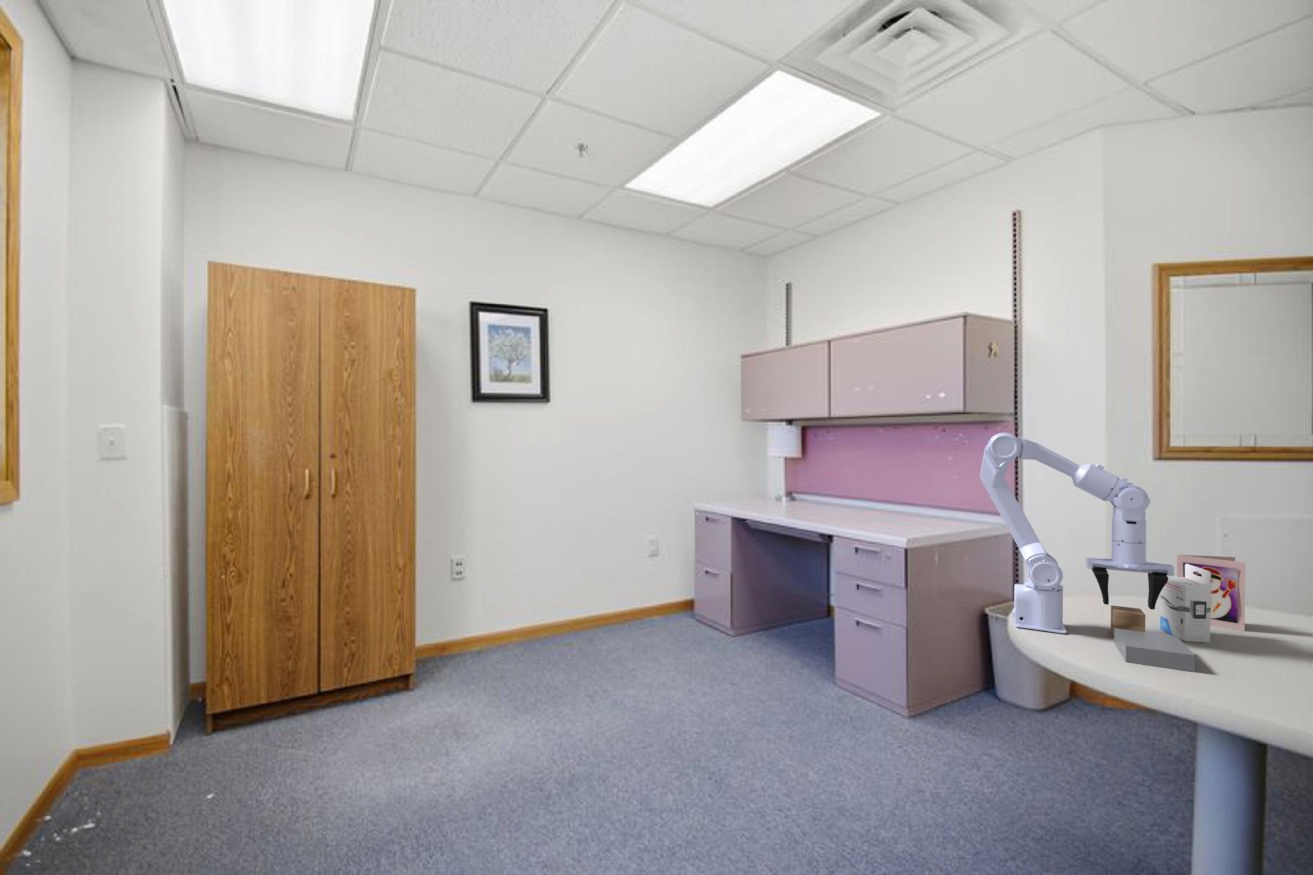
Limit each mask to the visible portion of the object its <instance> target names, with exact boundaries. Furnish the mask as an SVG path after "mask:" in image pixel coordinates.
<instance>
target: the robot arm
mask: <svg viewBox="0 0 1313 875" xmlns="http://www.w3.org/2000/svg"><path fill="white" fill-rule="evenodd" d="M1017 457H1018V458H1019V459H1020V460H1030V461H1031V460H1032V461H1033V460H1034V461H1037V462H1039V463H1040V464H1043V465H1045V466H1047V467H1049V468H1051V469H1054V470H1056V471H1058V472H1060V473H1062V474H1064V475H1066V476H1068V477H1070V478H1071V479H1072V480H1071V481H1072V482H1073V485H1074V487H1076V488H1078V489H1080V490H1082V491H1084V492H1086V493H1088V494H1089V495H1091V496H1094V497H1095V498H1097V499H1100V500H1102V501H1103V502H1110V505H1112V517H1111V558H1093V557H1092V558H1091V557H1086V558H1085V567H1086V569H1091V572H1092V573H1093V574H1094V577H1095V579H1096V581H1097V583H1098V586H1099V589H1100V592H1101V597H1102V602H1103V604H1104V605H1110V603H1109V602H1110V599H1109V598H1110V596H1109V578H1110V577H1109V570H1110V571H1121V572H1131V573H1132V572H1133V573H1143V574H1147V579H1148V597H1147V598H1148V599H1147V607H1148V608H1149V609H1150V610H1153V611H1154V610H1155V609H1156V604H1157V602H1158V599H1159V597H1160V595H1161V590H1162V589H1163V587H1164V586H1165V584H1166V583H1167V582H1168V577H1167V576H1170V577H1175V566H1174V565H1172V564H1166V563H1157V562H1149V561H1147V520H1146V514H1147V513H1146V510H1147V509H1148V508H1149V506H1150V504H1151V499H1149V498H1150V497H1149V495H1148V493H1147V492H1146V490H1145V489H1144V488H1142V487H1141V486H1138V485H1134V483H1133V482H1132V483H1131V482H1128V479H1129V478H1126V477H1124V476H1122V477H1120V476H1117V475H1114V474H1113V473H1111V472H1109V471H1107V470H1104V469H1105V467H1104V466H1103V465H1101V464H1099V463H1096V464H1093V463H1084V464H1079V463H1076V462H1075V461H1072V460H1071V459H1069V458H1067V457H1065V456H1063V455H1061V454H1059V453H1057V452H1055V451H1053V450H1052V449H1050V448H1047V447H1045V446H1044V445H1042V444H1040V443H1038V442H1035V441H1032V440H1028V439H1025V438H1022V437H1016V435H1014V434H1013V433H1009V432H1000V433H997V434H994V435H993V436H992V437H991V438H990V439H989V441H988V442H987V445H986V446H985V448H984V450H983V456H982V462H981V467H980V472H979V478H980V481H981V483H982V484H983V486H984V488H985V490H986V492H987V493H988V496H989V497H990V499H991V501H992V502H993V504H994V505H995V508H996V509H997V512H998V514H1000V516H1001V519H1002V521H1003V522H1004V524H1005V526H1006V528H1007V529H1008V531H1009V533H1010V534H1011V536H1012V538H1013V540H1014V542H1015V543H1016V546H1017V547H1018V549H1019V551H1020V553H1021V555H1022V557H1023V559H1024V561H1025V566H1026V571H1027V573H1028V578H1027V579H1026V580H1024V583H1022V584H1020V583H1014V587H1013V588H1014V591H1013V595H1014V596H1013V599H1014V600H1013V608H1012V617H1013V621H1014V627H1016V628H1021V629H1022V628H1023V629H1029V630H1036V631H1043V632H1050V633H1058V634H1067V628H1066V626H1065V625H1064V621H1063V617H1064V616H1063V615H1064V614H1063V612H1064V585H1062V584H1061V583H1062V581H1063V578H1064V574H1063V570H1062V569H1061V567H1060V566H1059V564H1058V561H1057V560H1056V558H1054V557H1053V556H1052V555H1050V554H1049V553H1048V552H1047V551H1046V549H1045V547H1044V546H1043V544H1042V543H1041V540H1040V539H1039V536H1038V535H1037V533H1036V532H1035V530H1034V528H1033V527H1032V524H1031V523H1030V521H1029V520H1028V518H1027V516H1026V514H1025V512H1024V511H1023V509H1022V507H1021V505H1020V503H1019V501H1018V500H1017V499H1016V496H1015V494H1014V493H1013V491H1012V489H1011V487H1010V486H1009V484H1008V482H1007V480H1006V479H1005V476H1006V473H1007V472H1008V470H1009V467H1010V464H1011V463H1012V462H1013V461H1015V459H1016V458H1017Z"/></svg>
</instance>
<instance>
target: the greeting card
mask: <svg viewBox="0 0 1313 875" xmlns="http://www.w3.org/2000/svg"><path fill="white" fill-rule="evenodd" d="M1185 564H1189V565H1192V566H1195V567H1198V568H1201V569H1204V570H1207V571H1210V573H1211V618H1210V626H1213V627H1217V628H1218V627H1219V628H1225V629H1229V630H1236V631H1242V632H1245V631H1246V630H1245V627H1246V626H1245V625H1246V620H1245V616H1246V615H1245V614H1246V562H1243V561H1236V556H1217V555H1216V556H1215V555H1194V554H1193V555H1191V554H1189V555H1188V554H1177V555H1176V577H1185ZM1194 575H1197V576H1200V577H1202V575H1201V574H1200V573H1198V571H1197V572H1194Z"/></svg>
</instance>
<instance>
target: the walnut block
mask: <svg viewBox="0 0 1313 875" xmlns="http://www.w3.org/2000/svg"><path fill="white" fill-rule="evenodd" d="M1114 628H1117V629H1125V630H1133V631H1141V632H1146V613H1145V612H1144V611H1142V609H1141V608H1137V607H1130V606H1129V607H1128V606H1122V605H1112V604H1111V605H1110V634H1111V636H1112V637H1113V638H1114Z"/></svg>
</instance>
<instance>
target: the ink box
mask: <svg viewBox="0 0 1313 875" xmlns="http://www.w3.org/2000/svg"><path fill="white" fill-rule="evenodd" d="M1197 571H1198V573H1200V574H1201V575H1202V577H1200V576H1197V575H1194V572H1197ZM1167 577H1168V582H1167V583H1166V584H1165V586H1164V587H1163V589H1162V590H1161V592H1160V611H1159V612H1160V618H1159V621H1160V623H1159V625H1160V629H1161V630H1163V631H1165V632H1166V633H1168V634H1169V635H1172V636H1177V637H1178V638H1179V639H1180V640H1181V641H1182V642H1191V643H1192V642H1194V643H1195V642H1197V643H1208V644H1209V643H1211V625H1210V618H1211V573H1210V571H1207V570H1204V569H1201V568H1198V567H1195V566H1192V565H1189V564H1185V577H1177V576H1169V575H1167Z"/></svg>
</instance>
